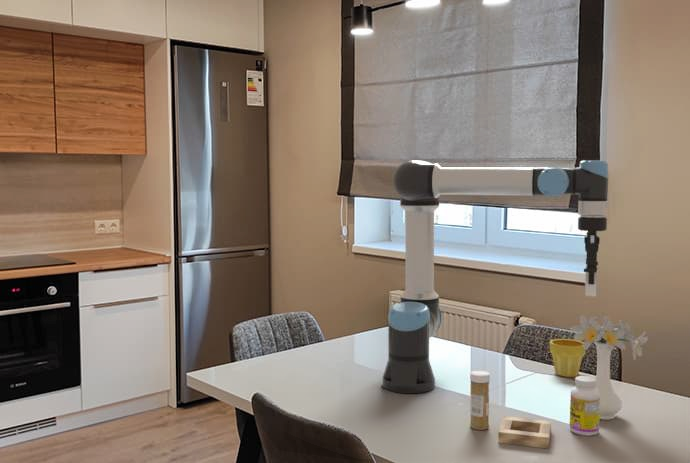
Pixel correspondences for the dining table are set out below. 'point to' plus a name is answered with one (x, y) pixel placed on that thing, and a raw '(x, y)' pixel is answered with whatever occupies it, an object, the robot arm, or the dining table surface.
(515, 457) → the dining table surface
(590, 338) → the flower vase
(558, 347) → the plant pot
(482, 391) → the sprinkles bottle
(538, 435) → the socket block
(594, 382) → the supplement bottle
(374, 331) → the dining table surface
